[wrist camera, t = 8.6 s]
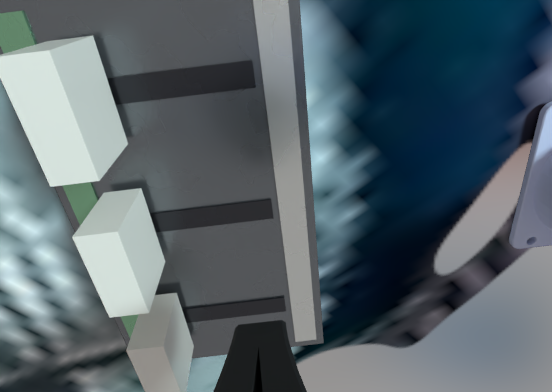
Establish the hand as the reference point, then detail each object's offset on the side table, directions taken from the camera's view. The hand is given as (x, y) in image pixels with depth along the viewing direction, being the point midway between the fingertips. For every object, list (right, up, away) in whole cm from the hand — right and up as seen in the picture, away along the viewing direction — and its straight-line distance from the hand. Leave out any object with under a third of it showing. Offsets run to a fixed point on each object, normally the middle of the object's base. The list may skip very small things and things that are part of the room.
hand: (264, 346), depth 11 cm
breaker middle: (-6, +3, +6) cm, 9 cm away
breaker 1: (-7, +8, +3) cm, 11 cm away
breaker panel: (-4, +4, +8) cm, 9 cm away
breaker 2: (-5, -2, +9) cm, 11 cm away
